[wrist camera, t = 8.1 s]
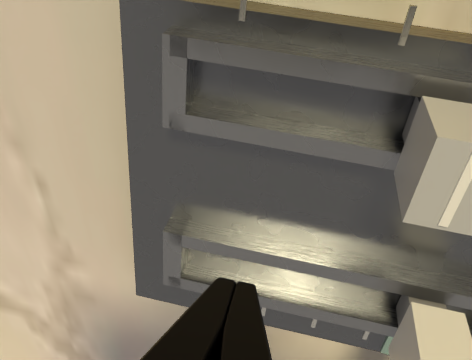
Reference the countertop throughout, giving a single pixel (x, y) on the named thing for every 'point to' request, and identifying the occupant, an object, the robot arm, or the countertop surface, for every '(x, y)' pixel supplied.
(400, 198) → the fader cap grey
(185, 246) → the panel
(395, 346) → the block
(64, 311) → the countertop surface
